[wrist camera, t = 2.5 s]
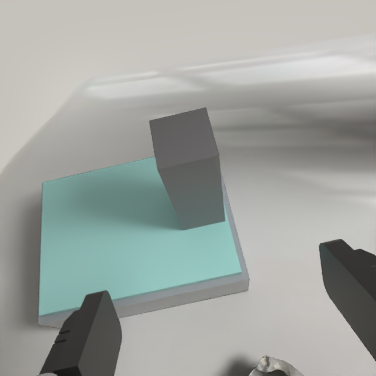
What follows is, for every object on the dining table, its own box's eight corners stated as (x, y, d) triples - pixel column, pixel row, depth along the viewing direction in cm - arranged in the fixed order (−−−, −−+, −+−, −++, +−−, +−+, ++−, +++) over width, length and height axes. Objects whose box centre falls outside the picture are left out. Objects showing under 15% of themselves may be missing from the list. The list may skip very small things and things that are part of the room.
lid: (209, 152, 32) (196, 58, 22) (241, 275, 26) (243, 225, 16) (50, 189, 33) (-34, 113, 23) (47, 317, 27) (-66, 293, 17)
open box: (216, 169, 36) (213, 143, 32) (248, 290, 30) (249, 279, 26) (65, 204, 37) (42, 182, 32) (66, 329, 31) (37, 324, 26)
